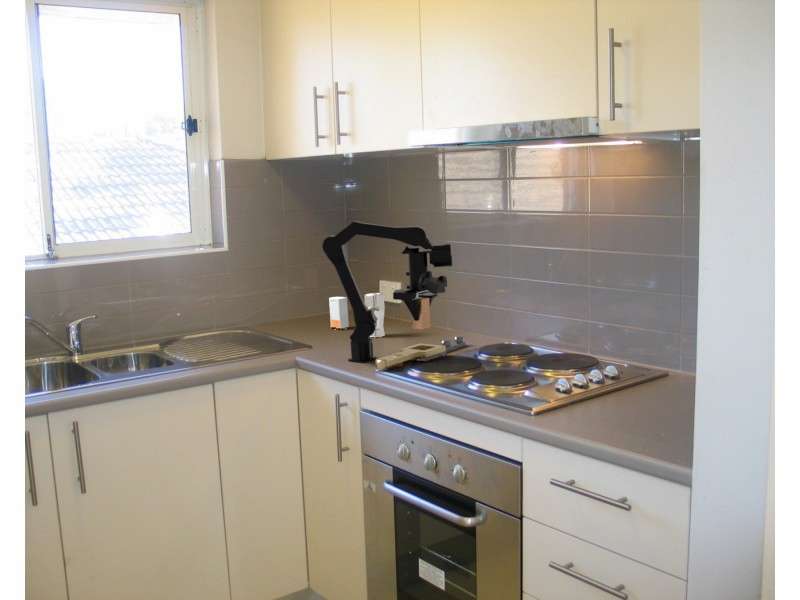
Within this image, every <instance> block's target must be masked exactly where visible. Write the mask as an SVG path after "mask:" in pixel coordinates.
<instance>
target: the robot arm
mask: <svg viewBox="0 0 800 600" xmlns="http://www.w3.org/2000/svg"><path fill="white" fill-rule="evenodd" d="M356 236H365V237H366V236H367V237H373V238H374V237H375V238H380V239H389V240H395V241H398V242H401V243H403V244H406V245H405V248H404V249H403V250H402V251H401V254H402V255H407V259H408V262H407V263H408V271H406V272H405V274H406V276H408V277H409V279H408V280H409V285H406V288H398V289H395V290H394V291H393V292H392V300H397V301H398V300H399V301H403V303H404V304H405V306H406V308H407V309H408V311H409V313H410V316H411V315H412V316H413V318H414V320H415V321H418V317H419V303H420V301H421V300H422V298H419V297H424V298H429V305H430V306H431V305H432V302H433V300H435V298H437V297H438V296H439V294H443V293H446V288H447V287H448V280H447V279H448V278H447V276H445V275H439V276H438V277H434V276H433V273H432V271H431V270H429V267H428V263H429V265H432V266H433V268H448V267H449V268H453V254H452V250H451V249H452V248H451V247H452V246H451V244H450V243H445V244H436V245H435V244H433V243H432V241H430V240H429V238H428V237H427V231H426V230H425V228H423V227H422V226H420V225H409V226H406V225H405V226H393V225H381V224H375V223H366V222H361V221H359V220H358V221H357V220H355V221H352V222H350V223H349V224H348V225H347V226H346V227H344V228H343V229H342V230H341V231H339V232H338V233H337V234H336V235H333V234H332V235H330V236H328V237H326V238H324V240H323V242H322V245H321V247H322V250H323V252H324V254H325V255H326V257H327V259H328V260H329V261H330V263H331V264H332V266H333V267H334V268H335V270H336V273H337V275H338V277H339V280H340V282H341V285H342V287H343V289H344V291H345V295H346V296H347V297H346V298H347V300H348V301H349V303H350V306H351V308H352V313H353V318H354V319H353V320H354V321H353V322H354V324H355V329H353V331H352V332H351V334H350V335H349V339H350V352H351V354H350V355H351V357H350V358H348V359H347V361H348V362H354V363H355V362H356V363H366V362H367V363H368V362H370V361H372V360H375V359H378V358H377V356H374V345H373V340H372V339H373V338H369V337H370V336H371V335H372V334H373V333H374V331H375V329H376V327H377V320H378V318H377V317H376V316H375V314H374V310H373V307H372V308H370V309H368V307H367V306H366V305H365V300H364V299H363V296H362V294H361V292H360V289H359V287H358V285H357V282H356V280H355V277H354V275H353V272H352V269H351V268H350V265H349V263H348V258H347V252H346V246H345V245H346V244H347V243H348V242H349V241H351V240H352V239H353V238H354V237H356ZM410 246H413V247H410ZM420 247H421V248H422V249H424V250H420ZM428 255H429V262H428Z"/></svg>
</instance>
